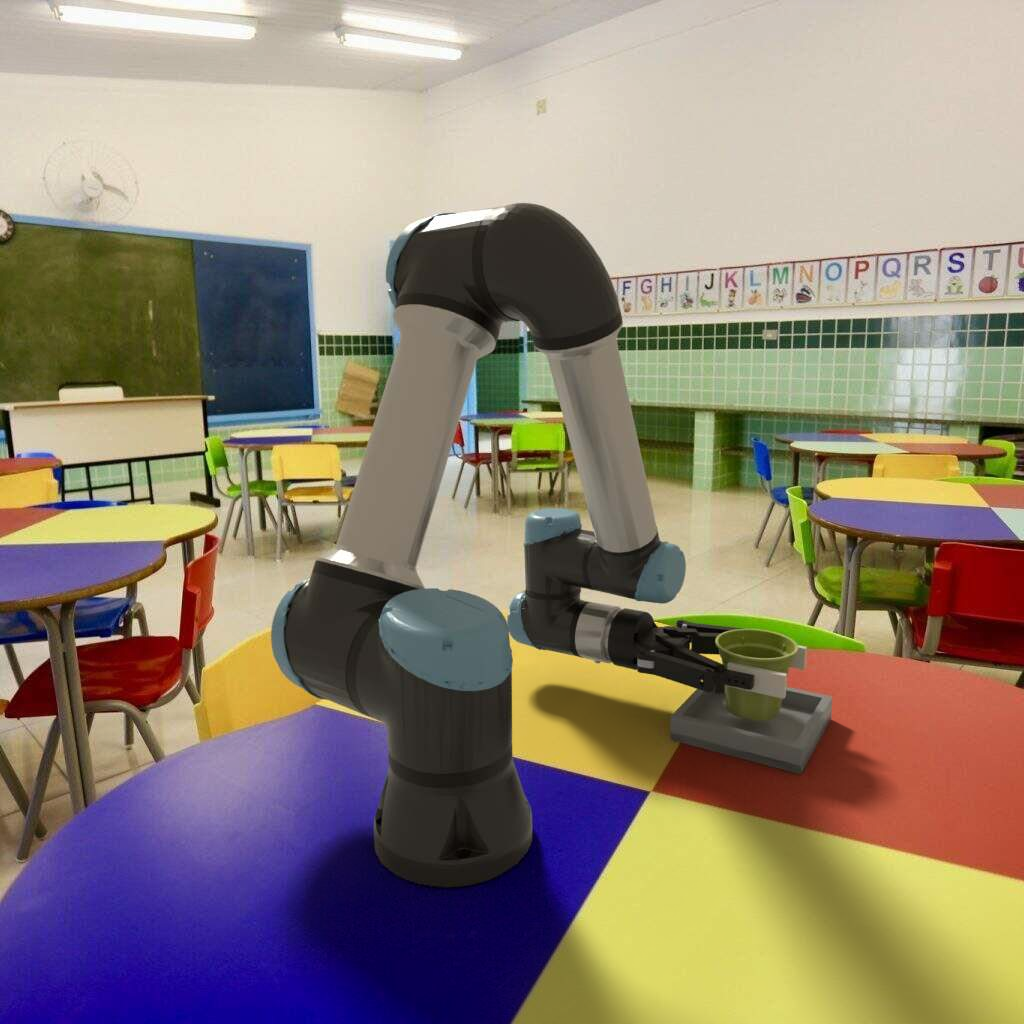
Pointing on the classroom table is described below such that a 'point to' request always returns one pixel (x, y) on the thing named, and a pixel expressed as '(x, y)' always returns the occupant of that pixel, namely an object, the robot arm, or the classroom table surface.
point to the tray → (755, 728)
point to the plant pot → (760, 653)
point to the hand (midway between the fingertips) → (795, 671)
